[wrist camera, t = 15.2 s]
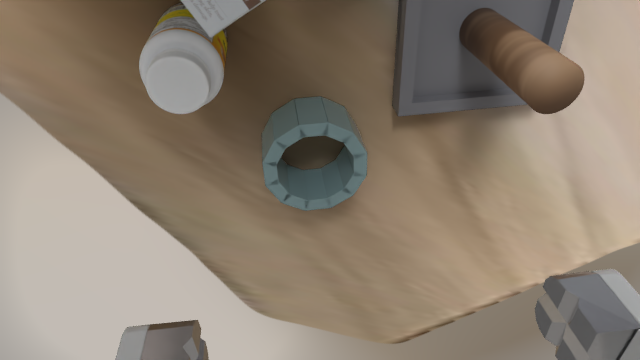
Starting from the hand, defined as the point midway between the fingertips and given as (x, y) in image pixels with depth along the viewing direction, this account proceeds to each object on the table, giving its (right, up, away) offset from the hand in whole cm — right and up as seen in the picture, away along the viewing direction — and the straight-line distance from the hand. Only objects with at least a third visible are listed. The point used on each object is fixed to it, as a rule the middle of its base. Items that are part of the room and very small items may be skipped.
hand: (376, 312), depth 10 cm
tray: (+12, +17, +29) cm, 35 cm away
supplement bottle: (-12, +15, +26) cm, 32 cm away
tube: (-2, +7, +33) cm, 34 cm away
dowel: (+12, +16, +28) cm, 34 cm away
